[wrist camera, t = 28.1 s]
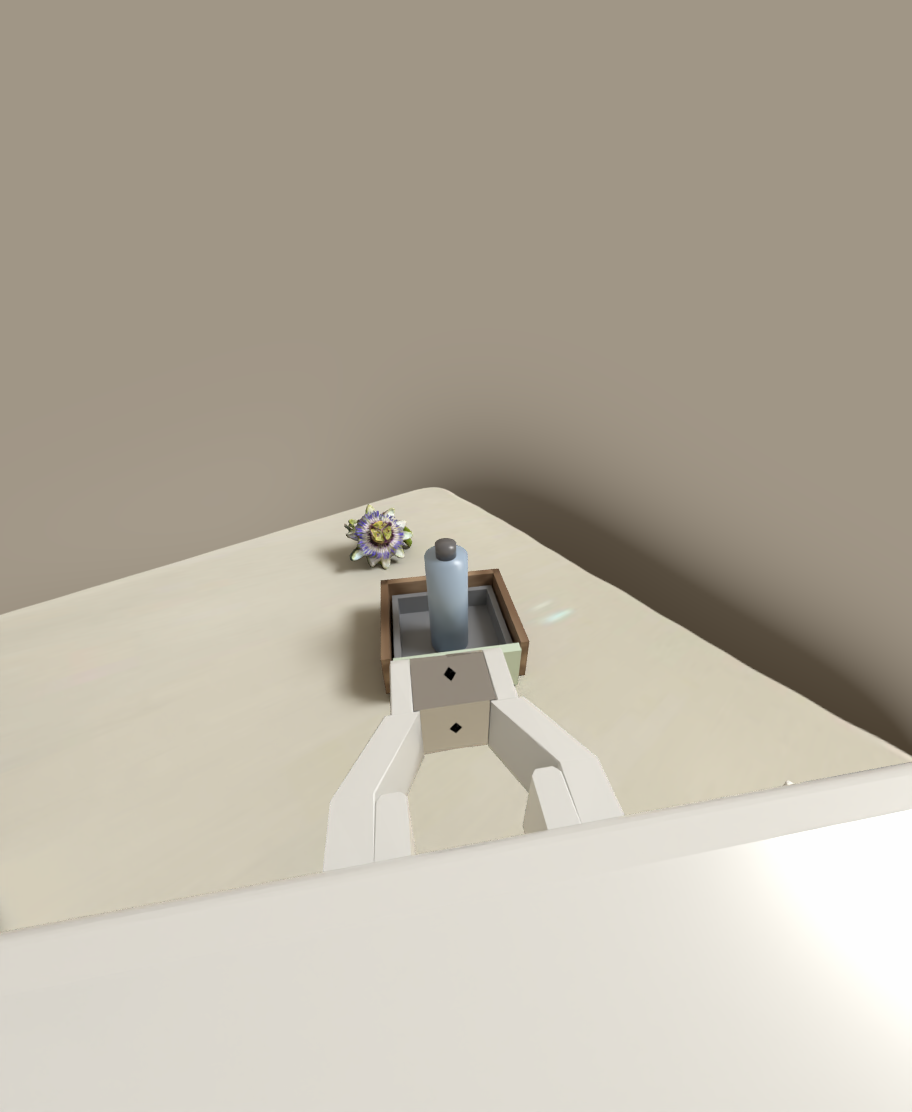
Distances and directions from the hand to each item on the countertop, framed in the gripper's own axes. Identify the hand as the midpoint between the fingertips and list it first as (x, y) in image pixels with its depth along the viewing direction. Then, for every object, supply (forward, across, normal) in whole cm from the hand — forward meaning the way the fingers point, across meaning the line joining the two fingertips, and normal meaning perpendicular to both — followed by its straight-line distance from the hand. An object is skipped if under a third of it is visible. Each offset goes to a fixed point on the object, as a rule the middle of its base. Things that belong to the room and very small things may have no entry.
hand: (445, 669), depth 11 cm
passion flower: (+55, +6, +32) cm, 64 cm away
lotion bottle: (+31, -4, +31) cm, 44 cm away
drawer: (+31, -4, +32) cm, 45 cm away
